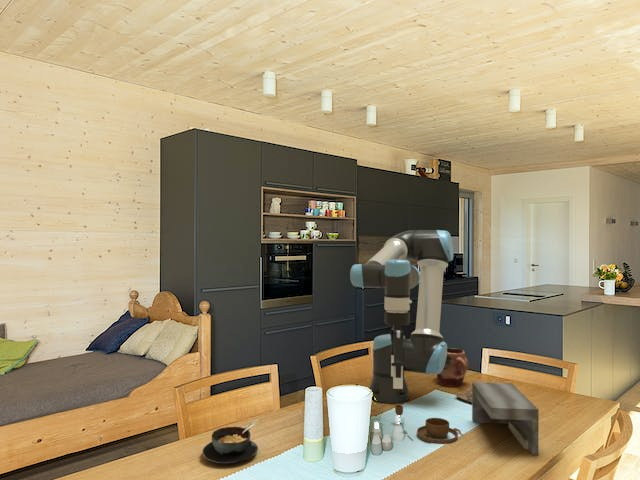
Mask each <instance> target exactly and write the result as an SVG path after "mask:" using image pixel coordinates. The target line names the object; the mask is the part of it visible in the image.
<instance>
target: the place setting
mask: <svg viewBox="0 0 640 480" xmlns="http://www.w3.org/2000/svg"><path fill="white" fill-rule="evenodd" d="M394 409H395V410H394V412H395V415H396V416H398V415H400V416H402V415H403V413H404V406H403V405H400V404H396V405H395V407H394ZM403 431H404V432H403V433H405V434H408V433H407V431H406V430H403ZM461 431H462V430H460V429H458V428H456V427H453V428H452V427H450V421H448V420H447V419H444V418H441V417H429V418H427V419H425V425H423V426H420V427H418V428H417V430H416V434H417V436H418V437H419V439H421V440H423V441H424V442H427V443H430V444H431V443H432V444H433V443H434V444H450V443H454V442H456V441H457V439H458V437H459V435H461V436H462V437H465V436H464V434H463V433H462V432H461ZM449 433H450V434H452V435H453V436H454V437H452V438H447V439H443V438H444V437H445V436H447V435H449ZM407 437H408V439H410V440H411V441H412V442H413V441H414V440H413V438H411V437H410V436H409V435H407Z"/></svg>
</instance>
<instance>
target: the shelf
mask: <svg viewBox="0 0 640 480" xmlns="http://www.w3.org/2000/svg"><path fill="white" fill-rule="evenodd" d="M471 385H472V387H471V389H472V404H471V407H472V408H471V421H472V423H479V424H480V423H485V424H507V425H508V429H509V431H510V432H511V433H512V435H513V436H514V437H515V439H516V440H517V441H518V442H519V444H520V446H521V447H522V448H523V449H524V450H528V452H530V454H531V455H532V456H537V457H538V456H539V424H540V423H539V420H540V419H539V417H540V415H539V413H540V412H539V408H538V407H537V406H536V405H534V403H533V402H532V401H531V400H530V399H529V398H528V397H527V396H525V394H524V393H522V391H521V390H519V389H518V388H517V387H516V386H515V384H514V383H511V382H487V381H486V382H485V381H484V382H480V381H472V382H471Z"/></svg>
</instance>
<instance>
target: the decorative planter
mask: <svg viewBox="0 0 640 480" xmlns="http://www.w3.org/2000/svg"><path fill="white" fill-rule="evenodd" d="M469 366H470V365H469V361H468V359H467V357H466V353H465V351H464V350H463V348H462V349H461V348H452V347H447V357H446V362H445V365H444V368H443V370H442V372H441V373H439V374H436V380H437V382H438V384H440V385H441V386H445V387H458V386H461V385H462V384H464V383H463V382H464V379H465V376H466V374H467V371H468V370H469Z"/></svg>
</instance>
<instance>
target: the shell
mask: <svg viewBox="0 0 640 480" xmlns="http://www.w3.org/2000/svg"><path fill="white" fill-rule="evenodd" d="M455 397H456V398H458V399H459V400H460V401H462V402H464V403H467V404H470V405H472V388H467V389H466V390H465V391H464V392H462V393H456V394H455Z"/></svg>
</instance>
